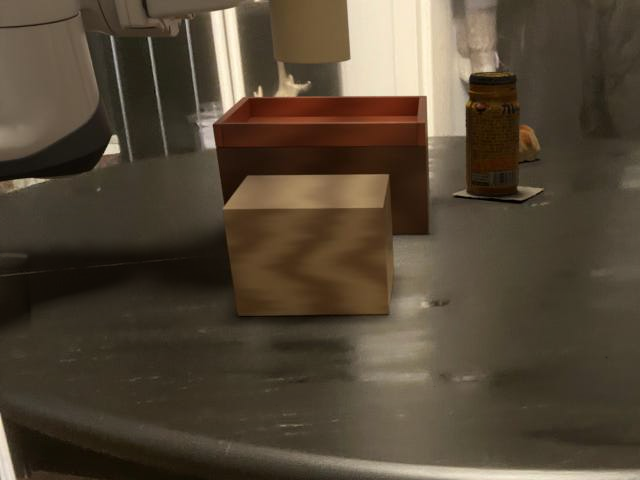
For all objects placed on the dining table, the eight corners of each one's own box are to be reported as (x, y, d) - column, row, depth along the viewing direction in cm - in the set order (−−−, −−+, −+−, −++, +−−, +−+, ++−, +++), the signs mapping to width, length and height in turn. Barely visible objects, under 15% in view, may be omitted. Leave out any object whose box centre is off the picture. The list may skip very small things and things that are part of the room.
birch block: (237, 316, 77) (221, 208, 73) (259, 272, 87) (247, 175, 82) (389, 314, 78) (383, 207, 73) (394, 271, 87) (389, 174, 83)
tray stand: (228, 236, 97) (212, 124, 91) (255, 195, 112) (242, 96, 106) (428, 233, 98) (425, 122, 92) (429, 194, 112) (426, 95, 107)
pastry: (491, 168, 124) (491, 135, 122) (457, 161, 128) (456, 129, 126) (544, 159, 129) (545, 126, 127) (509, 152, 133) (510, 121, 131)
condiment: (478, 184, 117) (477, 68, 110) (544, 190, 114) (548, 72, 107) (452, 196, 111) (449, 76, 104) (520, 203, 109) (523, 80, 101)
